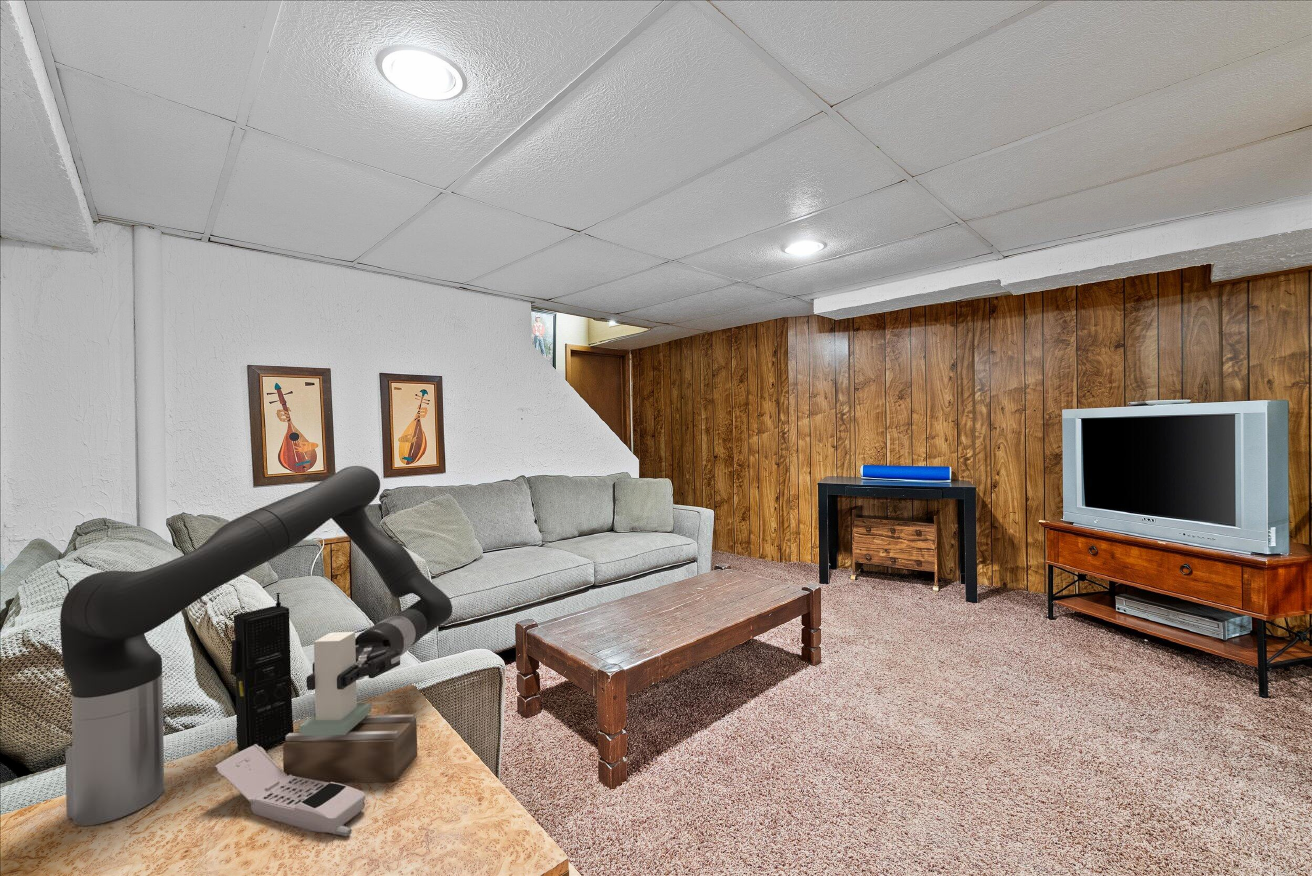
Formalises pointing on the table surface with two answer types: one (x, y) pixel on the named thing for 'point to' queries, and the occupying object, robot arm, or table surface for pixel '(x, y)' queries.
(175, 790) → the table surface
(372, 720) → the walnut track
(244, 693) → the portable radio
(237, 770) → the mobile phone
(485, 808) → the table surface
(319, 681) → the white pillar on base
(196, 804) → the table surface
